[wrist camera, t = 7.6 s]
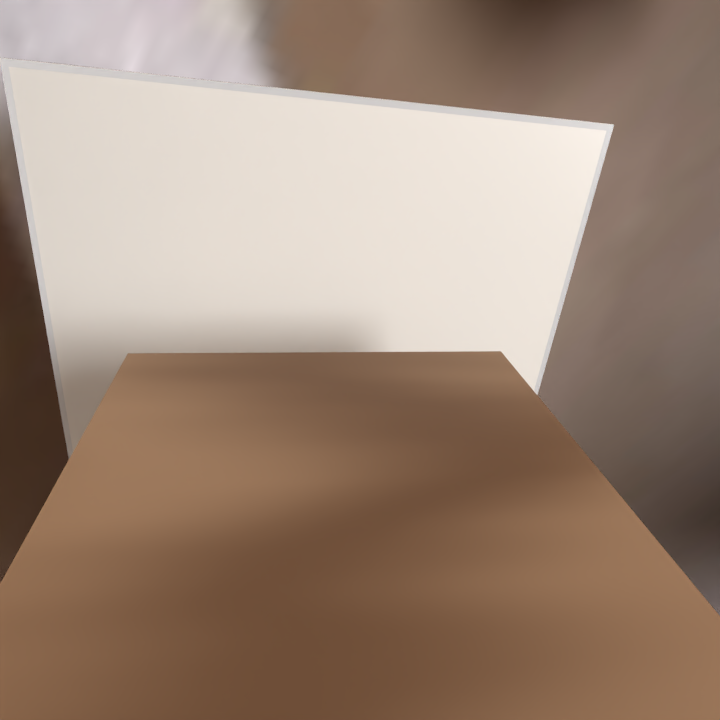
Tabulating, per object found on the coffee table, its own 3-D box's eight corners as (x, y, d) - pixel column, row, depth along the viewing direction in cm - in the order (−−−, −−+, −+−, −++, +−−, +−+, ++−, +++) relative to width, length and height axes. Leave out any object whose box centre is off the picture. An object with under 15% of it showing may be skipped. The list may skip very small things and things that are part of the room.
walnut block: (500, 350, 8) (880, 812, 3) (452, 597, 11) (617, 1087, 6) (128, 353, 8) (-221, 977, 2) (167, 618, 10) (44, 1214, 5)
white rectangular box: (517, 112, 12) (613, 124, 9) (433, 517, 18) (472, 625, 14) (89, 65, 11) (-1, 57, 7) (139, 523, 16) (101, 645, 13)
